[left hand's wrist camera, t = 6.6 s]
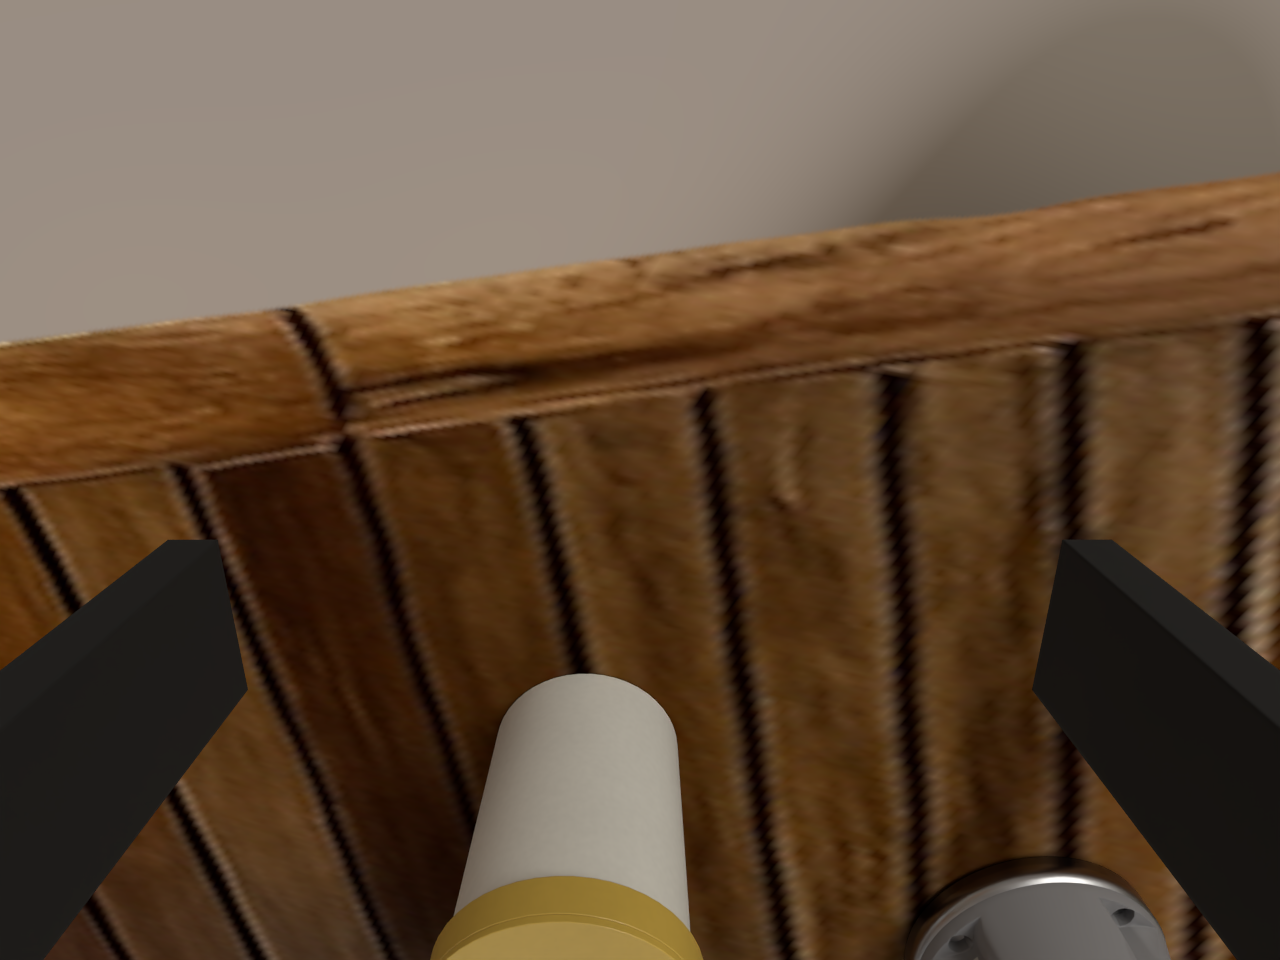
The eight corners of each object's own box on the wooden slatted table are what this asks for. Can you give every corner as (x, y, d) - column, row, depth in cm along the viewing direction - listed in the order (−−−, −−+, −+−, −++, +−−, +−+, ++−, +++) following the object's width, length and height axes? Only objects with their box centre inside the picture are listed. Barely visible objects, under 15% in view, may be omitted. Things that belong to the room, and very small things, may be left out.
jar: (613, 845, 48) (602, 1133, 34) (463, 768, 46) (386, 1041, 32) (713, 728, 45) (748, 991, 31) (558, 641, 43) (519, 880, 29)
